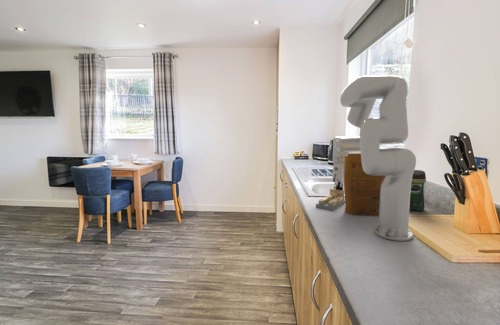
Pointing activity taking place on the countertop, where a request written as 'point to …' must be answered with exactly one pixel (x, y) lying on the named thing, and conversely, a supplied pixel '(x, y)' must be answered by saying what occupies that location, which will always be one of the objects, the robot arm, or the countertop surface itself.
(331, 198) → the board
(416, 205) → the coffee jar
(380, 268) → the countertop surface
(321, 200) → the ginger root
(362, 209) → the pancake mix bag
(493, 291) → the countertop surface
